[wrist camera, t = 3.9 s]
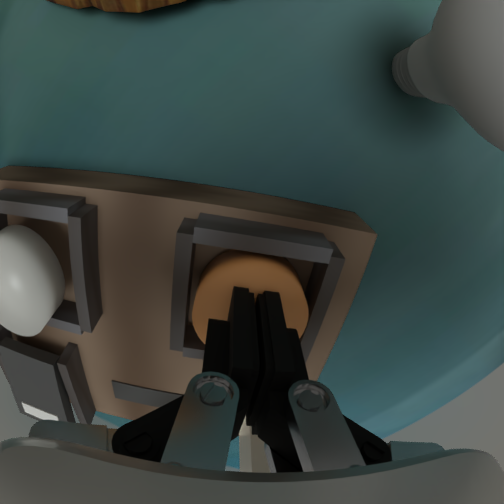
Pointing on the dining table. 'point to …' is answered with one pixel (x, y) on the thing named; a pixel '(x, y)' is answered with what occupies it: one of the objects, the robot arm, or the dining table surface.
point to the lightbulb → (461, 64)
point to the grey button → (28, 281)
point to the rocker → (36, 381)
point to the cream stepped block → (251, 451)
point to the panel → (166, 274)
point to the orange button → (248, 276)
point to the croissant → (118, 4)
